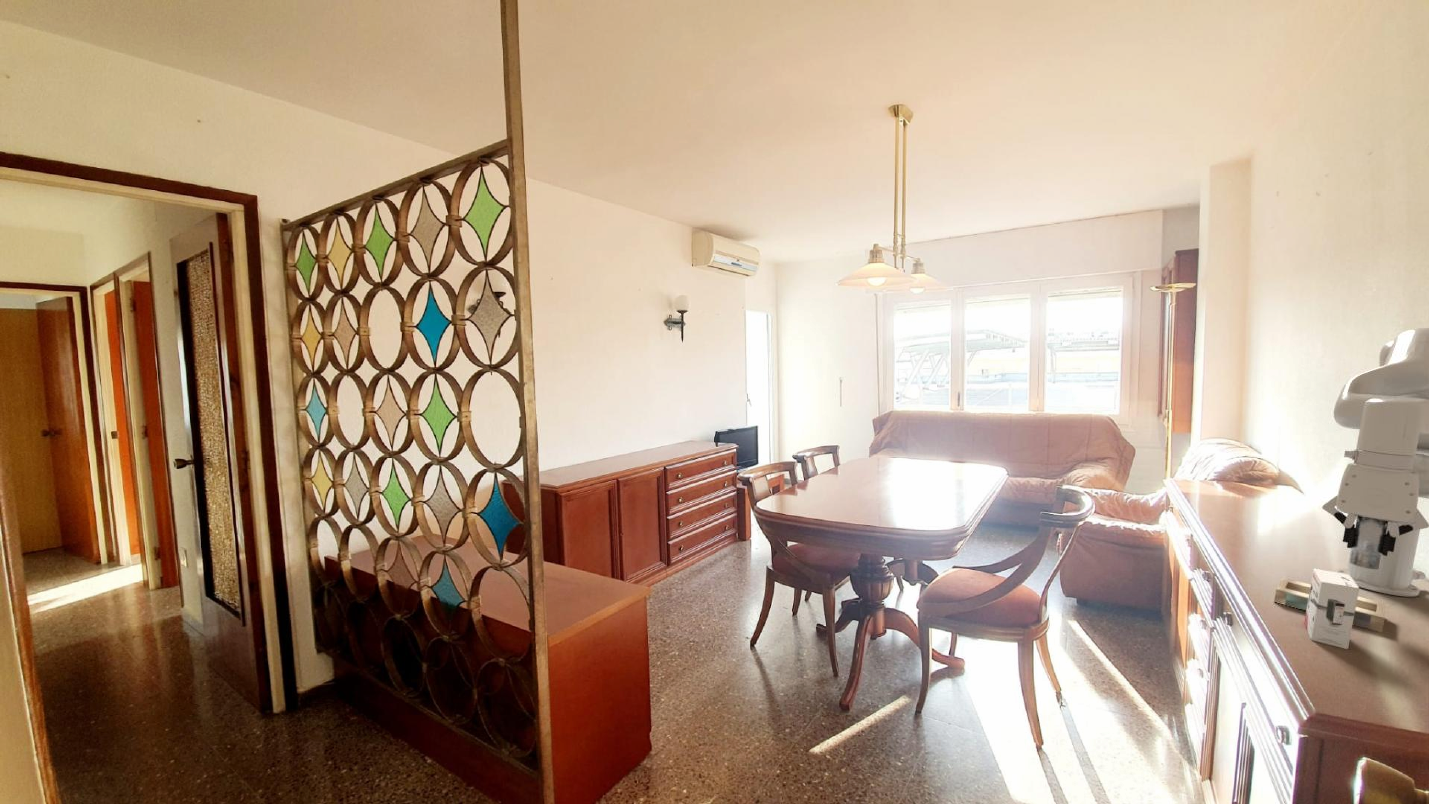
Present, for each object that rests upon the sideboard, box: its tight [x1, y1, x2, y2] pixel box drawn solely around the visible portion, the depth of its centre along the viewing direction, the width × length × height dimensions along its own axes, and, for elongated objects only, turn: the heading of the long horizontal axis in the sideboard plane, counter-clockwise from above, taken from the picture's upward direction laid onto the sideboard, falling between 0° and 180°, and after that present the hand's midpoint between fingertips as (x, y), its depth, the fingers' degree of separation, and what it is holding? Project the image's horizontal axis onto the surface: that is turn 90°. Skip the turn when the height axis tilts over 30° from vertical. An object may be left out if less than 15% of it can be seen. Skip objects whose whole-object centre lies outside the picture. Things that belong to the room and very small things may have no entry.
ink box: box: [1303, 567, 1360, 650], centre depth 106 cm, size 9×5×12 cm, turn 141°
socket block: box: [1273, 577, 1387, 633], centre depth 117 cm, size 15×10×3 cm
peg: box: [1348, 516, 1388, 569], centre depth 113 cm, size 4×4×11 cm
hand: (1366, 549), depth 113 cm, fingers closed on peg, 4 cm apart
